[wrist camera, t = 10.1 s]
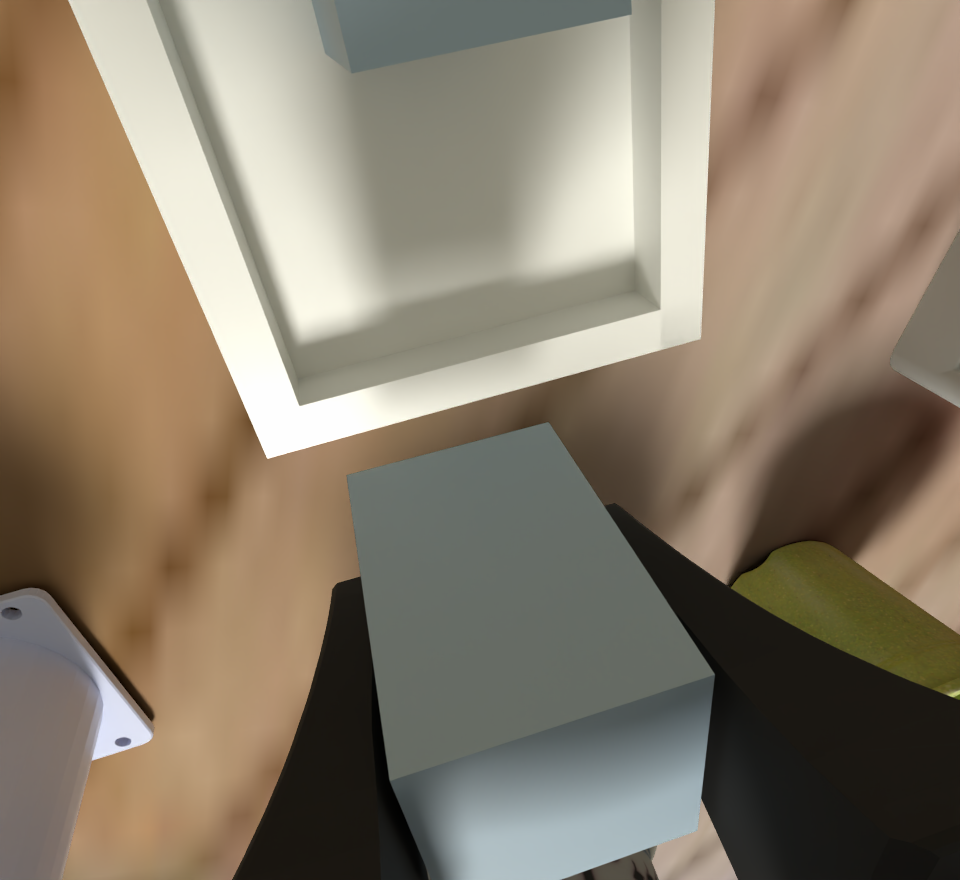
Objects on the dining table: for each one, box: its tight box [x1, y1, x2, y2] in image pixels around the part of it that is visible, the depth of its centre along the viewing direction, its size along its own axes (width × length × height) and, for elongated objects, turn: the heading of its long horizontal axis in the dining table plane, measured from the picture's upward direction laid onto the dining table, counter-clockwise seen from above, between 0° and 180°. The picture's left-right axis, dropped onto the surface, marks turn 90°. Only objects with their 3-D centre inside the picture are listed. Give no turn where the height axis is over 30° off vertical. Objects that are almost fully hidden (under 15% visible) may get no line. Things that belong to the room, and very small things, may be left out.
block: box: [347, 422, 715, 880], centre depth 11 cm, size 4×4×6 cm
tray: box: [68, 0, 715, 459], centre depth 14 cm, size 12×15×2 cm
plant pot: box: [731, 541, 960, 700], centre depth 26 cm, size 9×9×9 cm
